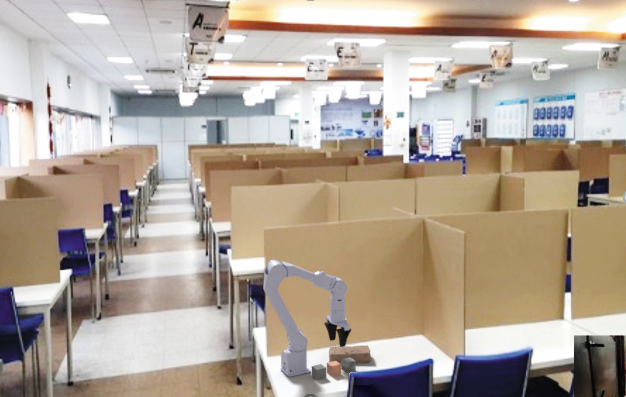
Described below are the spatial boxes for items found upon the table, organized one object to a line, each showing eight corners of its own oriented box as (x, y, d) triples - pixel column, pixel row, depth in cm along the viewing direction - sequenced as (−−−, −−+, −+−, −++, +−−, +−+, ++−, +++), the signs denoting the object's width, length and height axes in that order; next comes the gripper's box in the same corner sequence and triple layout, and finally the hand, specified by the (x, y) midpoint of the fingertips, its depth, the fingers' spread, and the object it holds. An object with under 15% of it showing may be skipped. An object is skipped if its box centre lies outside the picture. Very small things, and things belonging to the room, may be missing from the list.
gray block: (316, 380, 207) (316, 369, 206) (311, 376, 210) (311, 366, 210) (326, 378, 209) (326, 367, 208) (321, 374, 212) (320, 364, 212)
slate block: (346, 373, 213) (346, 363, 212) (341, 369, 216) (341, 359, 216) (355, 371, 215) (355, 360, 214) (350, 367, 218) (350, 357, 218)
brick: (329, 364, 222) (329, 352, 222) (328, 356, 230) (328, 345, 230) (371, 363, 222) (371, 352, 222) (368, 355, 231) (368, 344, 230)
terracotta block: (332, 376, 210) (332, 366, 209) (326, 372, 213) (326, 362, 213) (341, 374, 212) (341, 364, 211) (335, 370, 215) (335, 360, 215)
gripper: (356, 312, 212) (356, 347, 214) (336, 303, 225) (336, 335, 226) (340, 315, 209) (340, 350, 210) (321, 305, 222) (321, 338, 223)
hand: (337, 343), depth 218 cm, fingers open, 7 cm apart
